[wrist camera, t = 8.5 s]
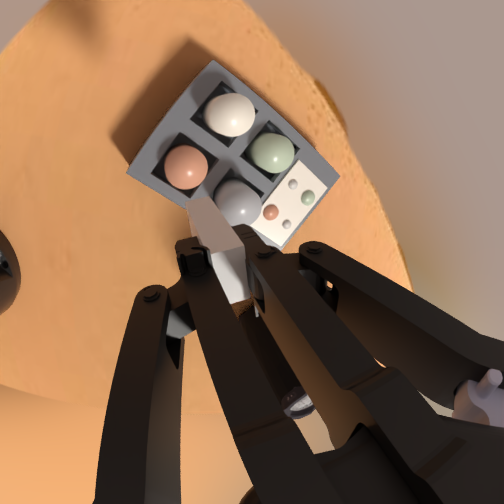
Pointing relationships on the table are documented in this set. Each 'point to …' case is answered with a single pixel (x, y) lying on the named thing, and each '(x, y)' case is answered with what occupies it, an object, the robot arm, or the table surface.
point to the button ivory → (229, 114)
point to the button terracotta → (185, 166)
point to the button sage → (270, 152)
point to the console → (236, 158)
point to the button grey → (237, 202)
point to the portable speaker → (275, 366)
